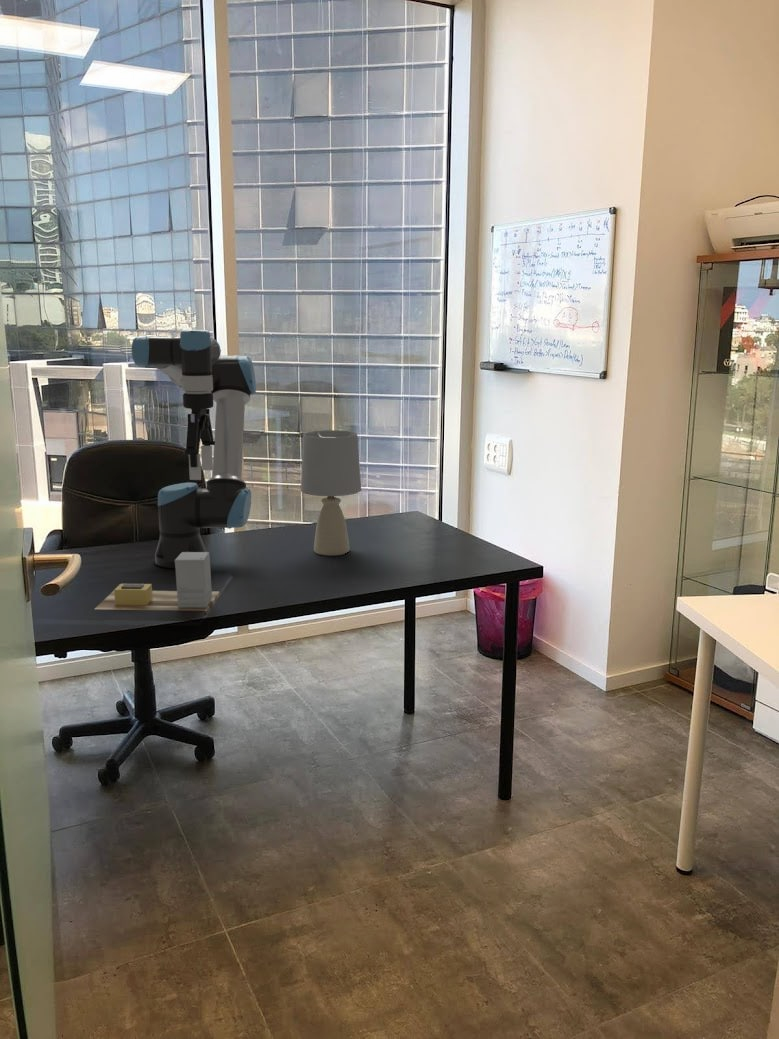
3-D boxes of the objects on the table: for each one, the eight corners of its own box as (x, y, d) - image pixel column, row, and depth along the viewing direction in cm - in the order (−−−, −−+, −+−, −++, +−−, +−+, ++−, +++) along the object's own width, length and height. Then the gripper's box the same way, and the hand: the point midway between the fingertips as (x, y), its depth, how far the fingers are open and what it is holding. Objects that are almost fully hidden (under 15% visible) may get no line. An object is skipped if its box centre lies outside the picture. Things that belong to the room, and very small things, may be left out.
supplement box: (212, 598, 222) (210, 551, 219) (206, 608, 215) (204, 559, 212) (184, 598, 222) (181, 551, 219) (176, 608, 215) (174, 559, 212)
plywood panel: (114, 593, 228) (114, 590, 228) (219, 595, 228) (219, 591, 228) (94, 613, 214) (94, 609, 214) (206, 614, 213) (206, 610, 213)
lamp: (372, 553, 268) (372, 435, 259) (320, 562, 258) (318, 440, 249) (341, 540, 283) (340, 428, 274) (291, 548, 273) (288, 432, 264)
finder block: (121, 598, 222) (120, 582, 221) (152, 598, 222) (151, 582, 221) (115, 604, 217) (114, 588, 216) (146, 605, 217) (145, 588, 216)
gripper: (194, 387, 231) (198, 466, 236) (170, 396, 207) (174, 483, 211) (222, 388, 231) (225, 466, 236) (201, 396, 206) (205, 484, 211)
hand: (201, 474), depth 224 cm, fingers open, 13 cm apart
